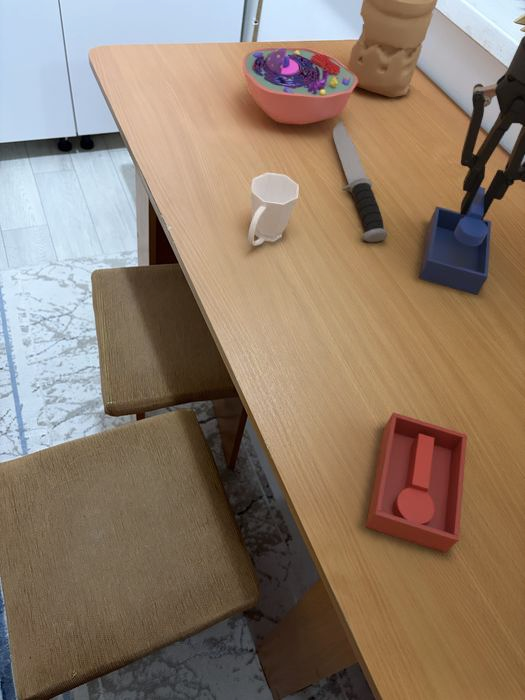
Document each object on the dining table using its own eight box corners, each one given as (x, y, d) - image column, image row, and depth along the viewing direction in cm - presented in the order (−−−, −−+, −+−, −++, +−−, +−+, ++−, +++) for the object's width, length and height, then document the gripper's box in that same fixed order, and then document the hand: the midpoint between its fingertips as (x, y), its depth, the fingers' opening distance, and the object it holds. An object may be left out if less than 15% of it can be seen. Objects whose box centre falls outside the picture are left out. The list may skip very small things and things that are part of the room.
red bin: (445, 552, 61) (458, 540, 58) (365, 527, 61) (375, 514, 58) (454, 449, 68) (467, 434, 65) (383, 428, 69) (392, 412, 66)
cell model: (343, 152, 101) (359, 90, 92) (229, 130, 101) (234, 66, 92) (350, 100, 111) (365, 40, 102) (246, 81, 111) (252, 18, 102)
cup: (299, 227, 88) (308, 183, 82) (269, 267, 82) (277, 223, 76) (258, 210, 89) (264, 165, 83) (226, 248, 84) (230, 203, 77)
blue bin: (477, 294, 84) (487, 277, 81) (419, 278, 84) (427, 260, 82) (481, 239, 91) (491, 221, 88) (428, 224, 92) (436, 206, 89)
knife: (358, 247, 88) (391, 242, 88) (360, 233, 86) (393, 228, 86) (318, 129, 105) (345, 126, 105) (319, 115, 102) (347, 111, 102)
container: (377, 64, 121) (404, -33, 107) (419, 94, 116) (453, -4, 101) (331, 77, 116) (353, -23, 101) (373, 109, 110) (402, 8, 96)
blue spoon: (458, 197, 85) (465, 182, 83) (485, 204, 85) (493, 190, 83) (452, 241, 79) (460, 227, 77) (481, 249, 79) (490, 235, 77)
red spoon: (402, 440, 67) (409, 430, 65) (436, 451, 67) (444, 440, 65) (389, 523, 61) (397, 514, 59) (427, 534, 61) (435, 526, 59)
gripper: (621, 45, 66) (523, 209, 85) (492, 14, 67) (423, 182, 86) (628, 77, 62) (523, 242, 80) (489, 42, 63) (417, 213, 81)
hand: (471, 211), depth 83 cm, fingers closed on blue spoon, 2 cm apart
